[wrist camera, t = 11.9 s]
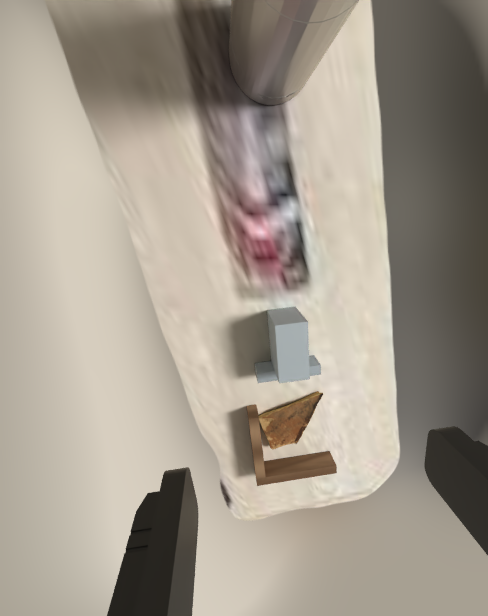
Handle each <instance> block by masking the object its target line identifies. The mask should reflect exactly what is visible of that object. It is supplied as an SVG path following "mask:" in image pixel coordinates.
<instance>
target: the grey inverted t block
mask: <svg viewBox="0 0 488 616" xmlns="http://www.w3.org/2000/svg"><path fill="white" fill-rule="evenodd" d="M267 316H268V328H269V341H270V353H271V361H267V362H260V363H255V373H256V377H257V381H258V383H261V382H269V381H276V380H278V381H279V383H285V382H292V381H300V380H307V379H310V376H313V375H320V374H321V365H320V363H319V362H318V360H317V359H316V358H315V356H314V355H312V356H309V342H308V321H307V320H306V319H305V318H304V316H303V315H302V314H301V313H300V312H299V311H298V309H297V308H296V307H289V308H281V309H273V310H267Z"/></svg>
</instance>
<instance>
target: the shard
mask: <svg viewBox="0 0 488 616" xmlns="http://www.w3.org/2000/svg"><path fill="white" fill-rule="evenodd" d="M322 395H323V393H319V392H318V391H317V392H315V393H313V394H311V395H309V396H307V397H305V398H303V399H301V400H298V401H296V402H294V403H291V404H290V405H287V406H284V407H281V408H278V409H276V410H273V411H269V412H266V413H263V414H261V415H258V416H259V422H260V424H261V426H262V429H263V431H264V433H265V435H266V437H267V439H268V442H269V445H270V448H271V449H276V448H278V447H281V446H283V445H287V444H292V443H296V444H297V442H298V441H299V439H300V437H301V436H302V434H303V431H304V430H305V428H306V426H307V425H308V423H309V421H310V419H311V417H312V415H313V413H314V411H315V408H316V406H317V404H318V402H319V400H320V399H321V397H322Z"/></svg>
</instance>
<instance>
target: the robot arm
mask: <svg viewBox="0 0 488 616" xmlns="http://www.w3.org/2000/svg"><path fill="white" fill-rule="evenodd" d="M358 1H359V0H232V5H231V21H230V38H229V61H230V67H231V70H232V74H233V76H234V78H235V80H236V83H237V84H238V86H239V87H240V88H241V90H242V91H243V92H244V93H245V94H246V95H247V96H248V97H249V98H251V99H252V100H254V101H256V102H258V103H261V104H265V105H278V104H282V103H285V102H287V101H289V100H291V99H292V98H293V97H294V96H296V95H297V94H298V93H299V92H300V90H301V89H302V88H303V87H304V85H305V84H306V82H307V81H308V79H309V78H310V76H311V74H312V73H313V71H314V70H315V68H316V67H317V65H318V64H319V62H320V61H321V59H322V58H323V56H324V54H325V53H326V51H327V50H328V48H329V47H330V45H331V43H332V42H333V40H334V39H335V37H336V36H337V34H338V33H339V31H340V29H341V28H342V26H343V25H344V23H345V22H346V20H347V18H348V17H349V15H350V14H351V12H352V11H353V9H354V7H355V6H356V4H357V3H358ZM425 471H426V474H427V476H428V478H429V481H430V482H431V484H432V485H433V487H434V488H435V489H436V491H437V492H438V493H439V494H440V496H441V497H442V498H443V499H444V501H445V502H446V503H447V504H448V506H449V507H450V508H451V509H452V511H453V512H454V513H455V515H456V516H457V517H458V518H459V519H460V521H461V522H462V523H463V525H464V526H465V527H466V528H467V530H468V531H469V532H470V534H471V535H472V536H473V537H474V539H475V540H476V541H477V542H478V544H479V545H480V546H481V547H482V549H483V550H484V551H485V552H486V554H487V555H488V446H487V445H485V444H483V443H481V442H479V441H475V442H474V441H473V440H472V439H471V438H470V437H469V436H468V435H466V434H465V433H464V432H463V431H462V430H461V429H459V428H458V427H454V426H452V427H446V428H439V429H433V430H430V431H429V433H428V439H427V447H426V457H425ZM197 533H198V505H197V499H196V495H195V490H194V486H193V481H192V478H191V473H190V469H189V468H182V469H175V470H168V471H165V472H164V475H163V479H162V483H161V488H160V491H159V492H152V493H148V494H147V496H146V497H145V499H144V500H143V502H142V503H141V505H140V506H139V508H138V510H137V511H136V514H135V518H134V521H133V525H132V529H131V535H130V536H129V539H128V543H127V546H126V553H125V554H124V557H123V561H122V564H121V568H120V572H119V575H118V579H117V582H116V586H115V589H114V593H113V597H112V600H111V604H110V607H109V611H108V614H107V616H192V606H193V592H194V577H195V562H196V546H197Z"/></svg>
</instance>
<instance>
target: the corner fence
mask: <svg viewBox="0 0 488 616" xmlns="http://www.w3.org/2000/svg"><path fill="white" fill-rule="evenodd" d="M247 413H248V420H249V428H250V436H251V443H252V451H253V459H254V467H255V474H256V481H257V486H259V485H265V484H271V483H278V482H284V481H290V480H296V479H302V478H309V477H315V476H321V475H327V474H333V473H336V464H335V462H334V460H333V458H332V455H331V453H330V451H327V452H321V453H315V454H308V455H302V456H296V457H289V458H283V459H277V460H270V461H264V459H263V450H262V442H261V433H260V424H259V416H258V411H257V406H256V405H250V406H247Z"/></svg>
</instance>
